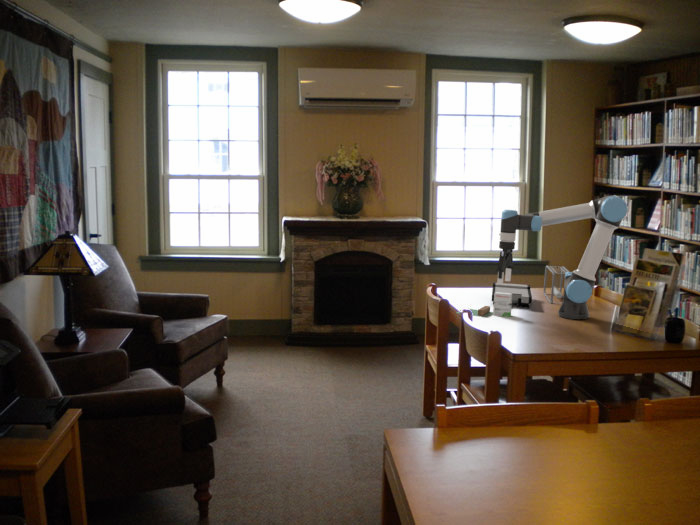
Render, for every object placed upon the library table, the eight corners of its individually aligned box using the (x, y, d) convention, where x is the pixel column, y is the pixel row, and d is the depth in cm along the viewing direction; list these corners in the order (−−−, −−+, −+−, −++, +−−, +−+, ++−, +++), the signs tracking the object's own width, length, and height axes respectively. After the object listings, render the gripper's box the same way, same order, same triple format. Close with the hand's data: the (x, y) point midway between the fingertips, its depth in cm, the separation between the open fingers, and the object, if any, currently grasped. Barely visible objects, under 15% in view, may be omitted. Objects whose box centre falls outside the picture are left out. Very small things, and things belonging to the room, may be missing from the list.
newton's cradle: (569, 305, 394) (572, 273, 392) (550, 304, 396) (553, 272, 393) (561, 295, 424) (563, 265, 421) (543, 294, 425) (545, 264, 422)
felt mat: (494, 313, 365) (494, 312, 365) (486, 318, 352) (486, 317, 352) (464, 309, 372) (464, 308, 372) (455, 313, 360) (455, 312, 360)
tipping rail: (489, 312, 365) (490, 306, 364) (482, 316, 354) (483, 310, 354) (485, 311, 366) (485, 305, 365) (477, 315, 355) (478, 309, 355)
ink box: (511, 316, 360) (512, 293, 358) (509, 317, 355) (511, 294, 353) (494, 314, 363) (495, 291, 361) (492, 316, 358) (494, 293, 356)
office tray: (491, 307, 382) (492, 292, 380) (492, 296, 413) (493, 282, 411) (530, 310, 377) (532, 295, 376) (528, 299, 408) (530, 285, 407)
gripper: (506, 238, 366) (503, 278, 369) (492, 242, 344) (489, 285, 347) (521, 239, 362) (517, 280, 366) (507, 243, 341) (504, 287, 344)
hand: (503, 283), depth 356 cm, fingers open, 13 cm apart
